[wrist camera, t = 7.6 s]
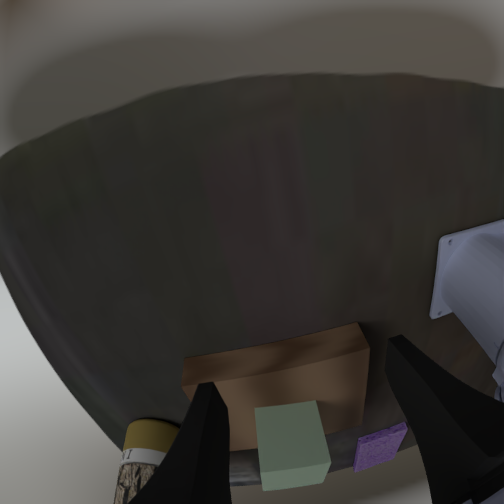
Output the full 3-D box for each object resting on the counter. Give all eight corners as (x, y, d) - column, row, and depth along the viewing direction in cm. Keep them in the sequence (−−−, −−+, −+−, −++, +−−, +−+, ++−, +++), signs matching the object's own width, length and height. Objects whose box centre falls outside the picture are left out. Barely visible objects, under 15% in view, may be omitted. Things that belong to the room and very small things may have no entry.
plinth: (357, 322, 23) (370, 347, 20) (353, 402, 28) (361, 424, 25) (184, 358, 23) (180, 386, 20) (224, 428, 28) (225, 451, 26)
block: (315, 400, 22) (331, 462, 17) (311, 428, 24) (322, 482, 19) (254, 407, 22) (260, 472, 17) (257, 435, 24) (263, 490, 19)
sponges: (404, 418, 33) (408, 428, 31) (390, 451, 38) (393, 460, 37) (356, 434, 33) (360, 445, 31) (351, 464, 39) (354, 473, 37)
